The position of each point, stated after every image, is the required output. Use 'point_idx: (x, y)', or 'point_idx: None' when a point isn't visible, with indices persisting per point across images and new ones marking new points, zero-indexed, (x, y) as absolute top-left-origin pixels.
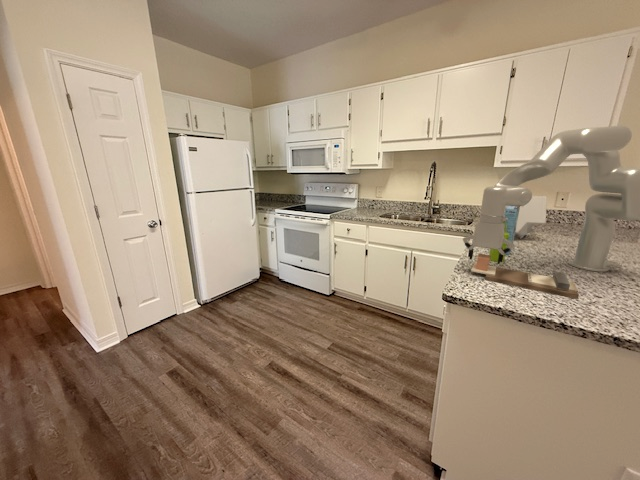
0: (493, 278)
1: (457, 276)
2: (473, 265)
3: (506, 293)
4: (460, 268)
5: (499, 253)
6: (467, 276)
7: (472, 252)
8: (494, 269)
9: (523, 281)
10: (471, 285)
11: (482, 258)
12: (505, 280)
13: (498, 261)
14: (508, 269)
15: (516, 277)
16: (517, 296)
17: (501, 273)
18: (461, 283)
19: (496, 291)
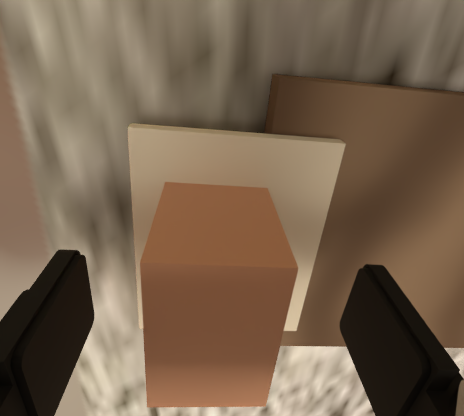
0: (281, 341)
1: (83, 351)
2: (135, 219)
3: (316, 409)
4: (46, 199)
5: (413, 394)
6: (135, 324)
7: (56, 408)
8: (311, 231)
9: (448, 318)
10: (174, 409)
11: (198, 401)
12: (344, 343)
13: (353, 354)
14: (453, 105)
15: (435, 273)
16: (353, 412)
17: (352, 248)
18: (128, 411)
19: (278, 411)
